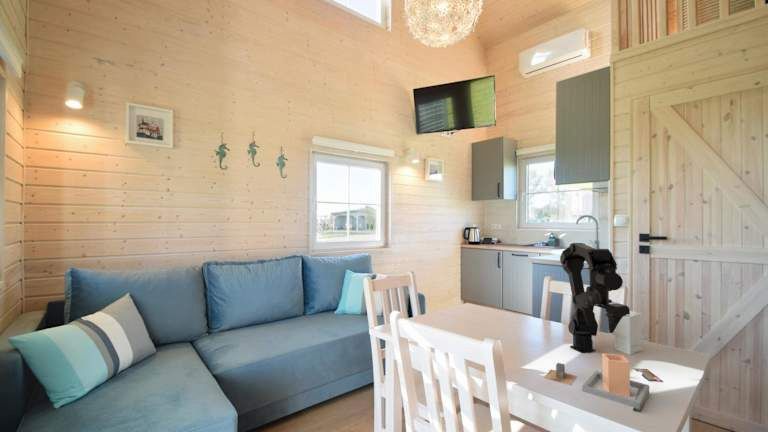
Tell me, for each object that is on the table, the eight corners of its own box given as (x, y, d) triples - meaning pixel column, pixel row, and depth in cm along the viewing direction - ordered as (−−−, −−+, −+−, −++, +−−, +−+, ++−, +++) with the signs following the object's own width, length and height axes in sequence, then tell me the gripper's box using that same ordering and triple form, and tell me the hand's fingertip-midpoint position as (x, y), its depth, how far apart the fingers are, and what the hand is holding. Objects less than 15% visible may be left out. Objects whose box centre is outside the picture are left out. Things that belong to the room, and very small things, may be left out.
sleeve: (608, 394, 103) (608, 360, 103) (602, 386, 108) (602, 353, 108) (630, 397, 101) (629, 362, 101) (622, 388, 107) (622, 355, 107)
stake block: (543, 380, 114) (543, 365, 114) (550, 372, 120) (550, 357, 120) (571, 388, 109) (570, 372, 109) (577, 379, 115) (576, 363, 115)
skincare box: (626, 346, 142) (626, 309, 142) (643, 351, 137) (642, 312, 137) (614, 350, 139) (613, 312, 139) (630, 355, 133) (629, 315, 133)
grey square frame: (582, 394, 105) (582, 386, 105) (595, 378, 115) (595, 370, 115) (639, 412, 95) (639, 403, 95) (649, 393, 105) (649, 385, 105)
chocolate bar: (666, 384, 111) (666, 382, 111) (649, 383, 112) (649, 381, 112) (646, 369, 122) (646, 367, 122) (631, 368, 123) (631, 366, 123)
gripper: (560, 281, 131) (560, 323, 131) (603, 291, 113) (603, 340, 113) (584, 279, 134) (585, 320, 134) (630, 289, 116) (631, 336, 116)
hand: (599, 328), depth 124 cm, fingers open, 9 cm apart
